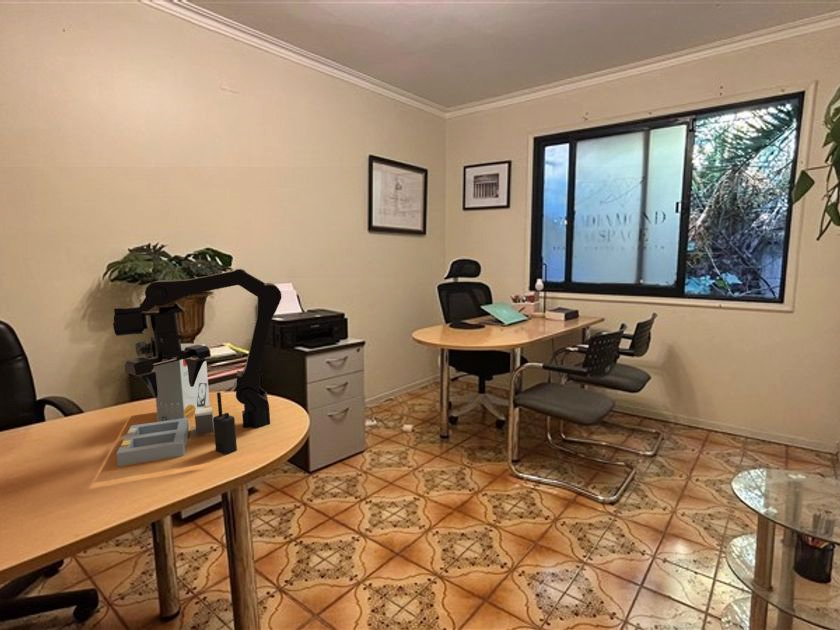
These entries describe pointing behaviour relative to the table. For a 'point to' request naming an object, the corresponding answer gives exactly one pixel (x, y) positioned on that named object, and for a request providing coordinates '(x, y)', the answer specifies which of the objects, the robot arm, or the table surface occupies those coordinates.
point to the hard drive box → (180, 390)
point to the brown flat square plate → (194, 435)
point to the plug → (204, 420)
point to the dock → (154, 442)
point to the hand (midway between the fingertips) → (174, 391)
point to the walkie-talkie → (224, 431)
